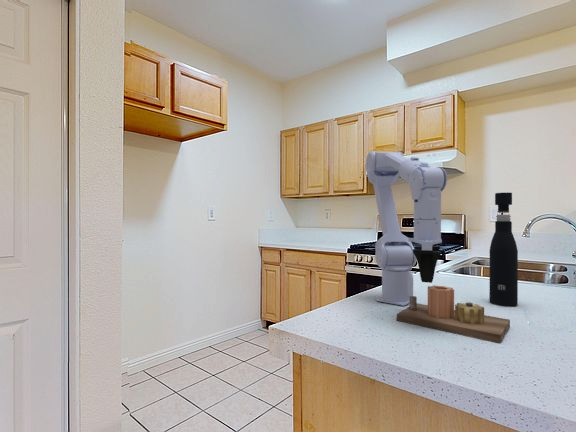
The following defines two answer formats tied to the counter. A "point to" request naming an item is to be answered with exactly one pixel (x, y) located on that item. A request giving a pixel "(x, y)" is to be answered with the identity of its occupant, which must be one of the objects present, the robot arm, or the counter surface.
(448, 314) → the gear
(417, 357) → the counter surface
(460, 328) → the gear board
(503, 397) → the counter surface
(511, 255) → the black bottle
